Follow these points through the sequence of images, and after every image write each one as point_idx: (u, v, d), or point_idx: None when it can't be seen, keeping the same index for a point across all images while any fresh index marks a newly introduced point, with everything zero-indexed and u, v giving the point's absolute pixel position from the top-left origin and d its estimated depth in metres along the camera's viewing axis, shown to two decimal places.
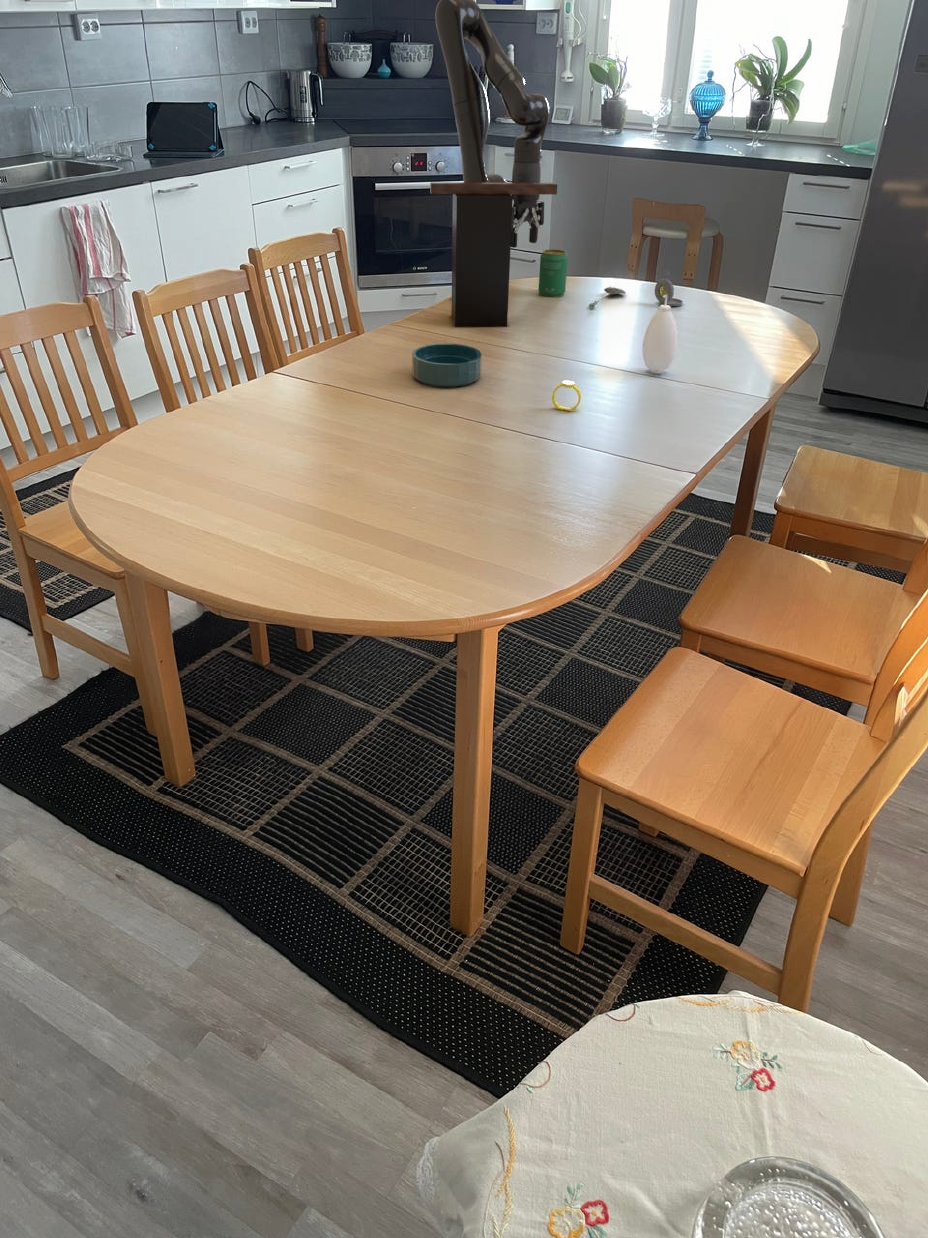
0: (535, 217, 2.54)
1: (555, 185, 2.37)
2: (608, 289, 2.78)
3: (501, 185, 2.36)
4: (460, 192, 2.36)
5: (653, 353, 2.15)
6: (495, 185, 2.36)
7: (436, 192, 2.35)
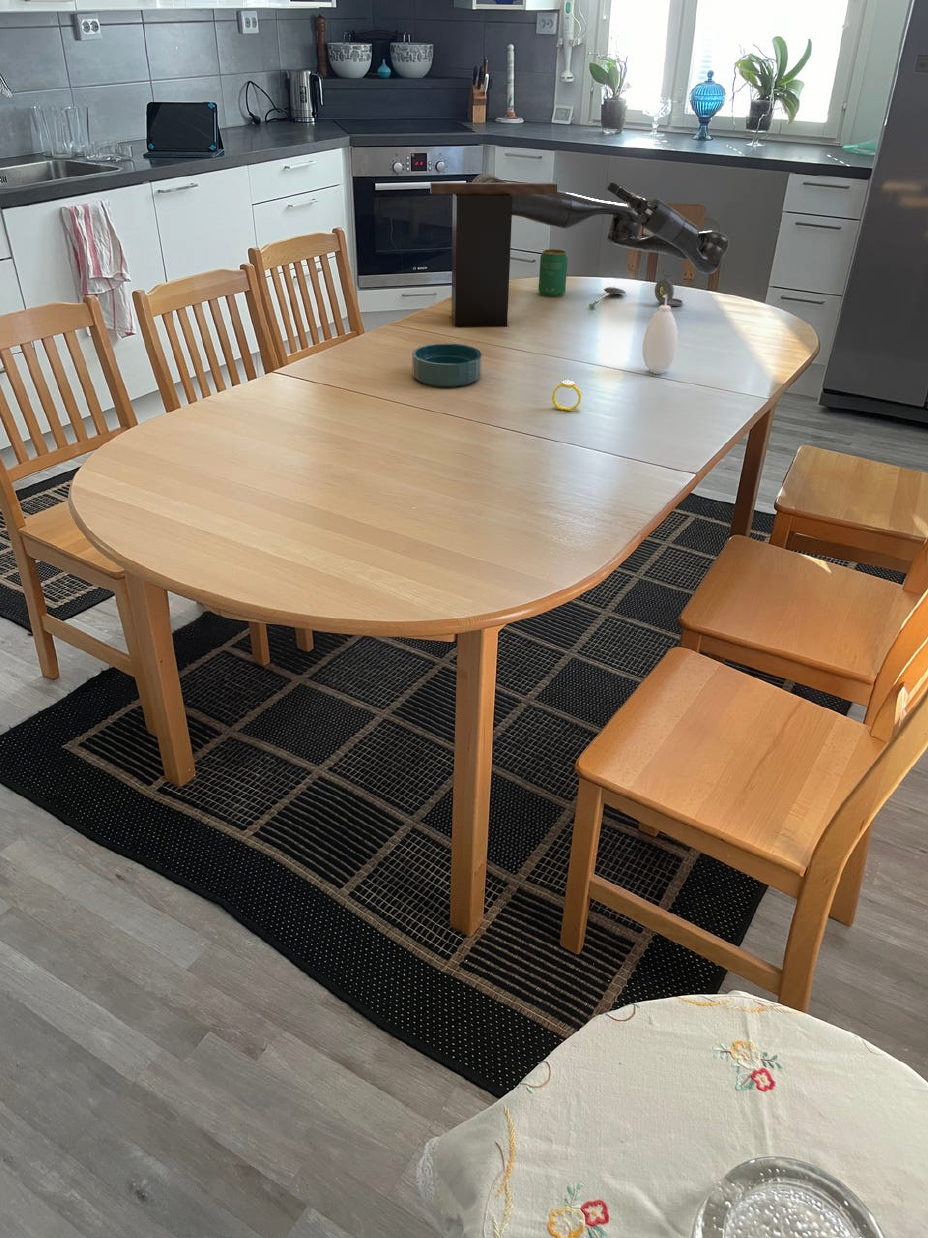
0: (641, 197, 2.40)
1: (555, 185, 2.37)
2: (608, 289, 2.78)
3: (501, 185, 2.36)
4: (460, 192, 2.36)
5: (653, 353, 2.15)
6: (495, 185, 2.36)
7: (436, 192, 2.35)
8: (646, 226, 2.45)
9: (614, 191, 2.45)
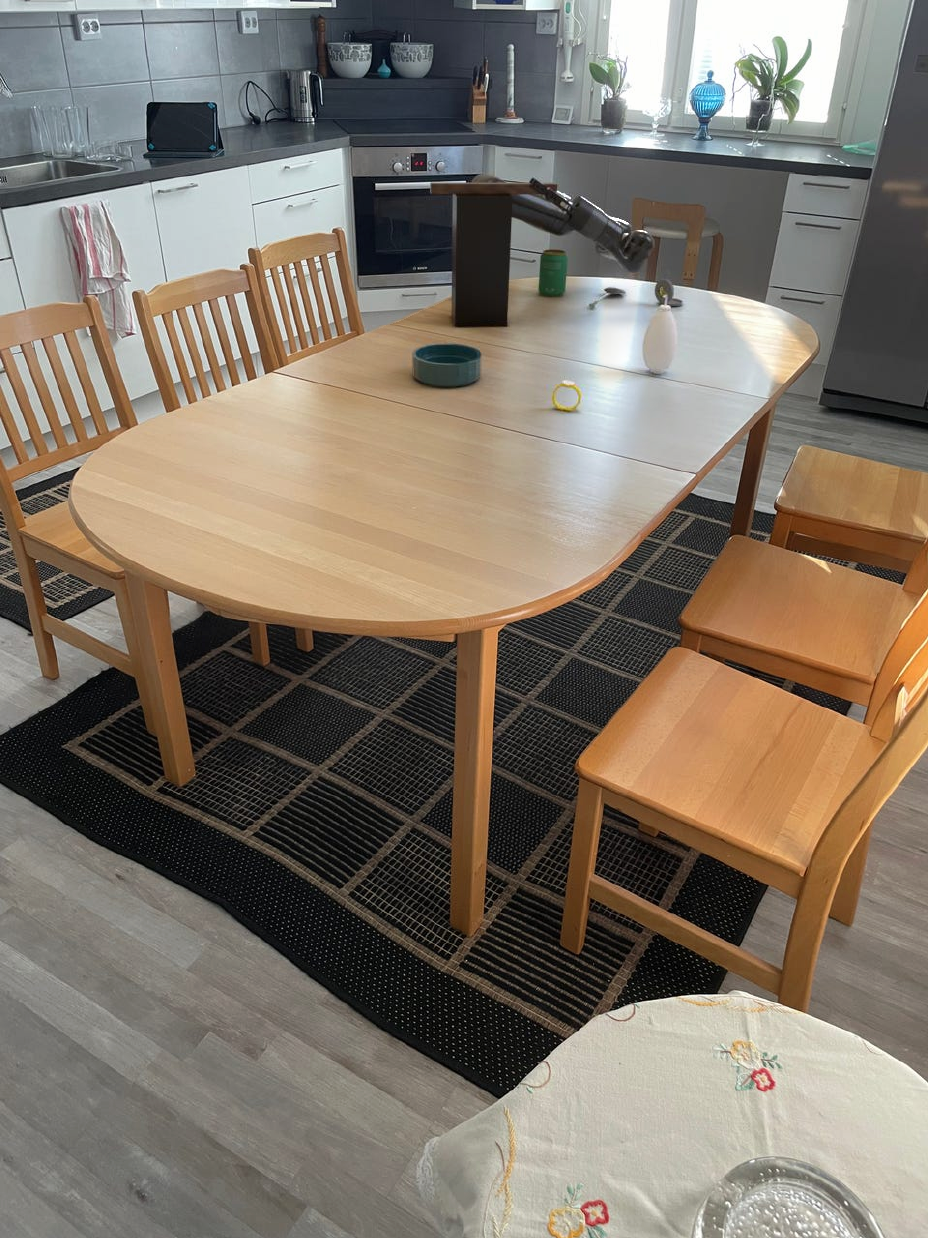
0: None
1: (555, 185, 2.37)
2: (608, 289, 2.78)
3: (501, 185, 2.36)
4: (460, 192, 2.36)
5: (653, 353, 2.15)
6: (495, 185, 2.36)
7: (436, 192, 2.35)
8: (569, 224, 2.42)
9: None
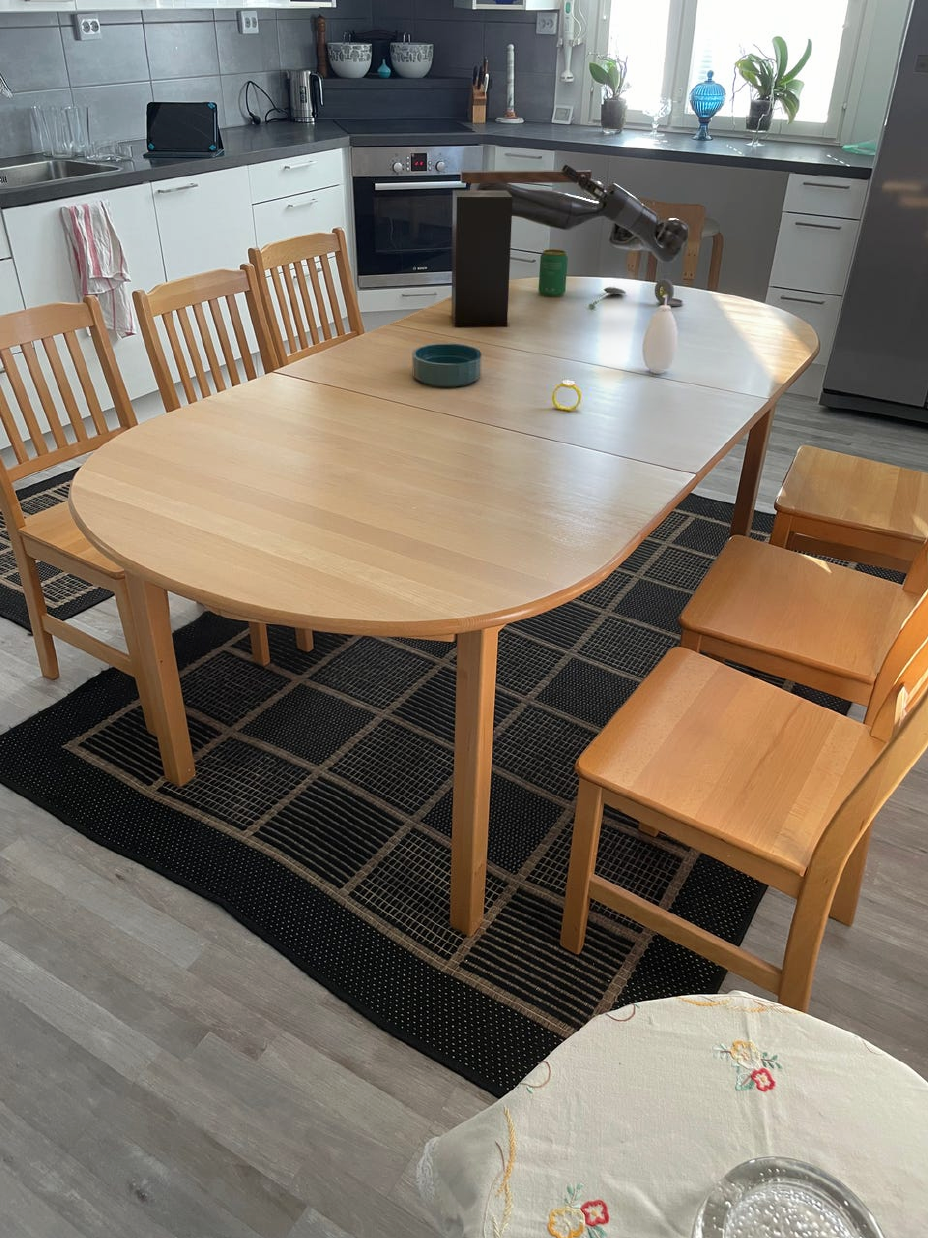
0: None
1: (589, 172, 2.30)
2: (608, 289, 2.78)
3: (534, 173, 2.29)
4: (492, 181, 2.29)
5: (653, 353, 2.15)
6: (528, 173, 2.29)
7: (467, 181, 2.28)
8: (603, 212, 2.35)
9: None
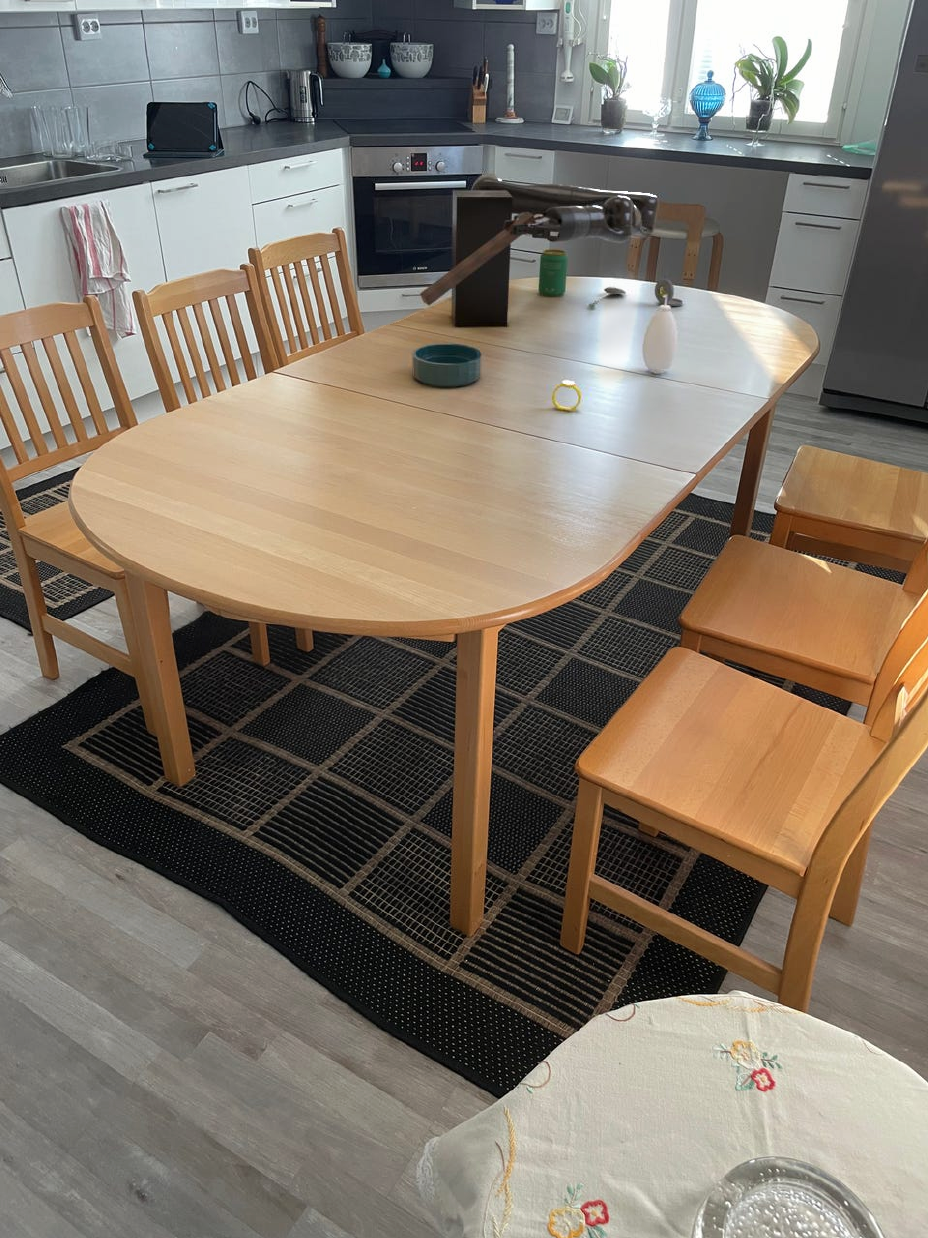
0: (539, 219, 2.16)
1: (532, 217, 2.15)
2: (608, 289, 2.78)
3: (486, 252, 2.13)
4: (453, 285, 2.13)
5: (653, 353, 2.15)
6: (481, 256, 2.13)
7: (433, 300, 2.12)
8: (557, 241, 2.22)
9: None
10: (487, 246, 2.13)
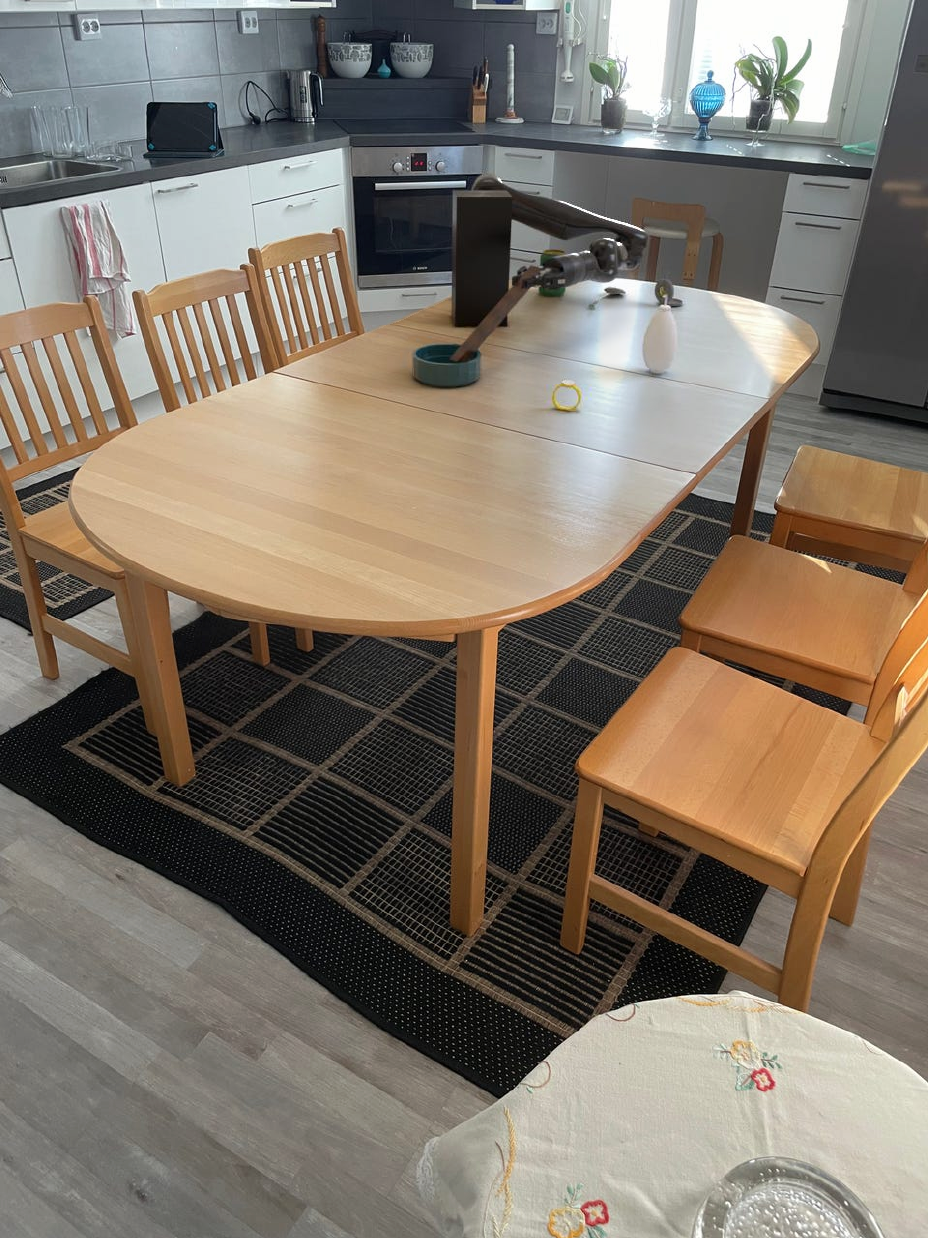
0: (543, 270, 2.21)
1: (537, 269, 2.19)
2: (608, 289, 2.78)
3: (503, 309, 2.16)
4: (479, 345, 2.14)
5: (653, 353, 2.15)
6: (499, 313, 2.15)
7: None
8: (559, 288, 2.27)
9: None
10: (502, 303, 2.16)
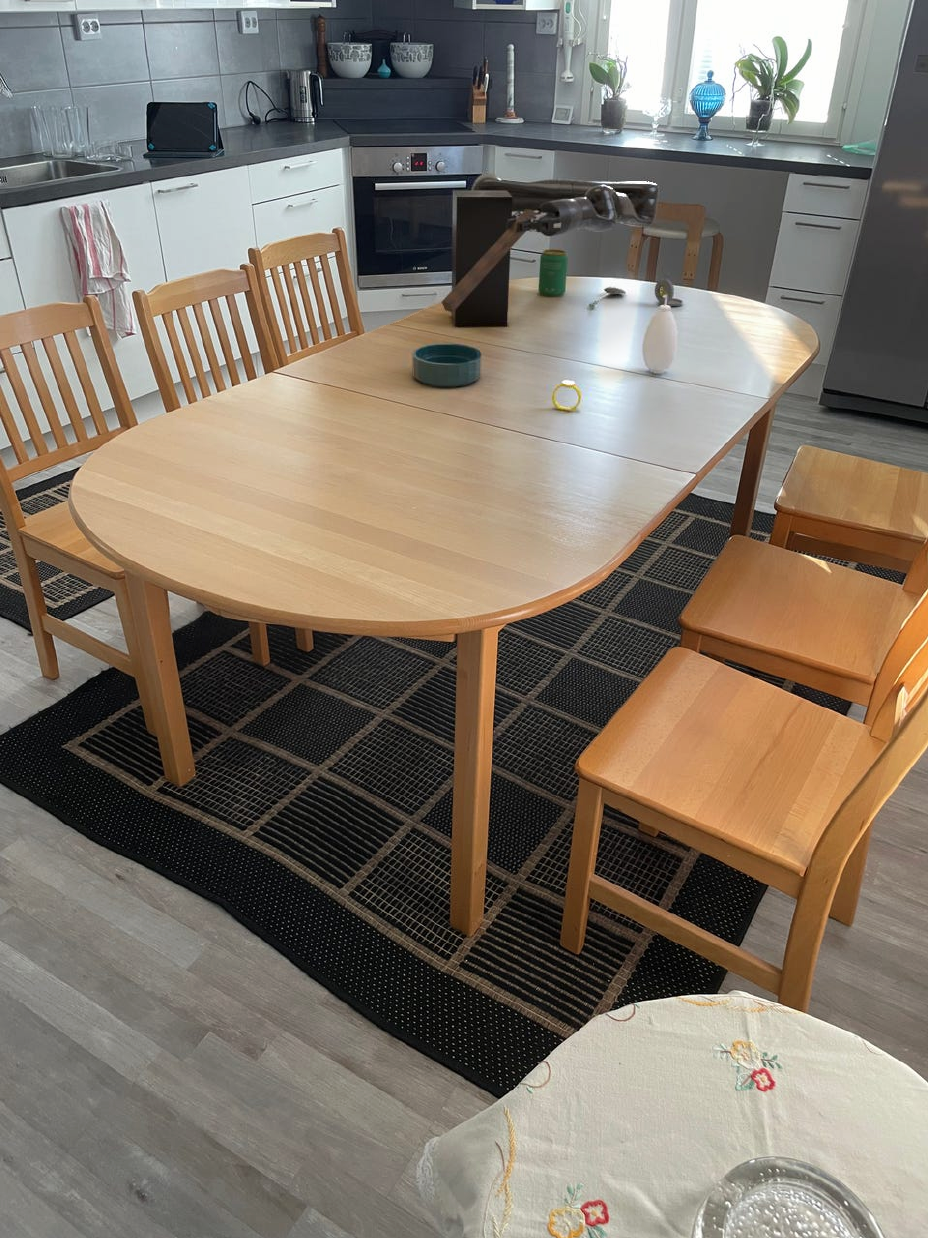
0: (538, 214, 2.15)
1: (533, 213, 2.14)
2: (608, 289, 2.78)
3: (497, 252, 2.10)
4: (472, 288, 2.09)
5: (653, 353, 2.15)
6: (493, 256, 2.10)
7: (456, 306, 2.07)
8: (555, 234, 2.22)
9: None
10: (496, 246, 2.11)
